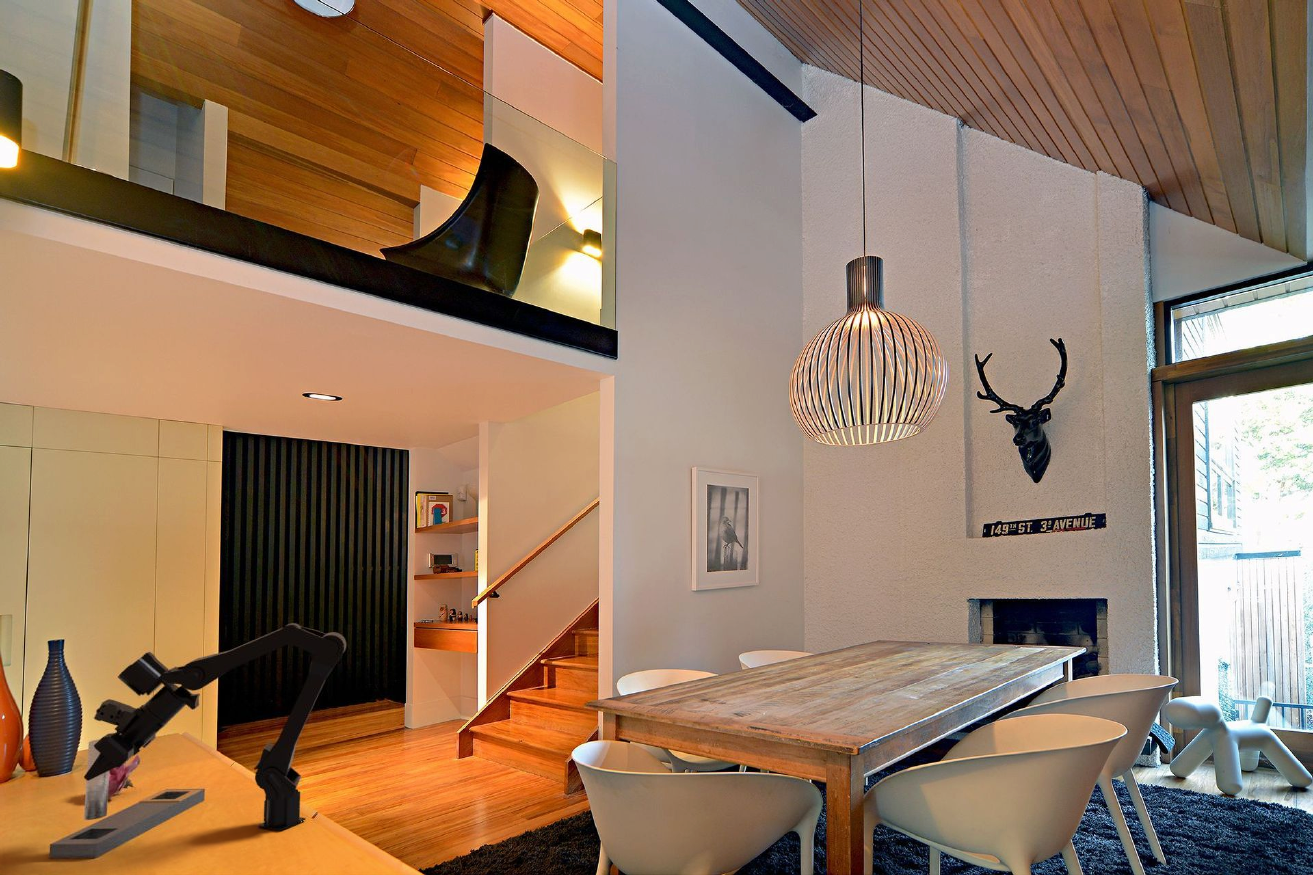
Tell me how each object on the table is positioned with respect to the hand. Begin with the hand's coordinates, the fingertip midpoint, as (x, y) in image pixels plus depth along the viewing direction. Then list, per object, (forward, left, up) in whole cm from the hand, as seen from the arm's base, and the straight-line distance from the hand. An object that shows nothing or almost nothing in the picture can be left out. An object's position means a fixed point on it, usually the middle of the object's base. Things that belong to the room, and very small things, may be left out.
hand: (89, 776), depth 154 cm
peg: (-1, -1, -8) cm, 8 cm away
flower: (+28, -24, -14) cm, 39 cm away
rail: (+3, -12, -13) cm, 18 cm away
